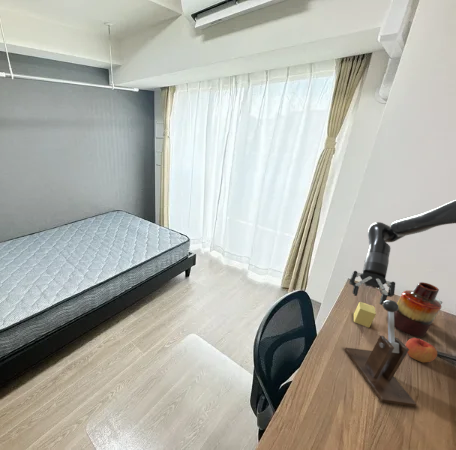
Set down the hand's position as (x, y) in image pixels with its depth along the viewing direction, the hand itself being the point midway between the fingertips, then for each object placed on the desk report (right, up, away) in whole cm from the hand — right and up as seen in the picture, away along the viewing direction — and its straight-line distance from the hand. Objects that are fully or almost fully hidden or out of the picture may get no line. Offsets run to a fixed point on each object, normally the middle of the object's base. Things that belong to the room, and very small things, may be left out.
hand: (368, 299), depth 101 cm
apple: (+3, -16, -15) cm, 23 cm away
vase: (+14, -11, -2) cm, 18 cm away
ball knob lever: (-16, 0, -25) cm, 29 cm away
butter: (-3, -9, 0) cm, 10 cm away
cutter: (-17, -18, -22) cm, 34 cm away
